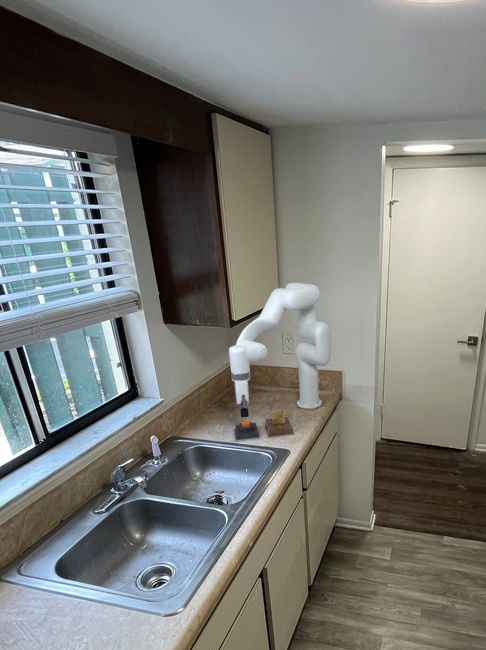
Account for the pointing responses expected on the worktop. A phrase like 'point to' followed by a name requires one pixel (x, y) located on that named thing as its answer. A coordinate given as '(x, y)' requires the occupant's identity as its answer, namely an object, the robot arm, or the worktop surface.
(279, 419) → the lock knob
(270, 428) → the plate
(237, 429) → the doorbell
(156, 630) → the worktop surface
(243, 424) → the bell button
